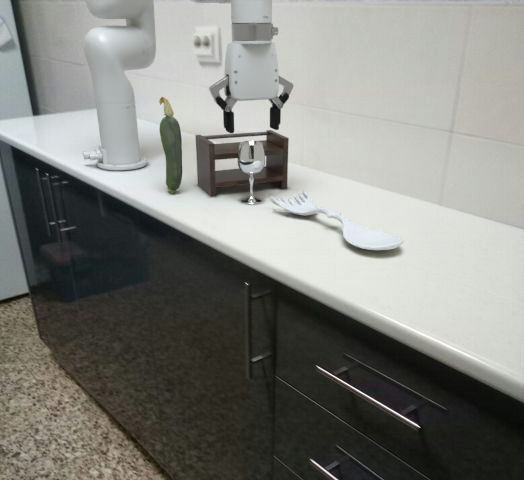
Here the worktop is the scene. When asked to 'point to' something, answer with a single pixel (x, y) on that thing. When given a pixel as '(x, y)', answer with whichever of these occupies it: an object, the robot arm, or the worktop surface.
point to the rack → (210, 152)
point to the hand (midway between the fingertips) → (252, 130)
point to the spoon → (351, 230)
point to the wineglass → (251, 164)
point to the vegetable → (171, 147)
